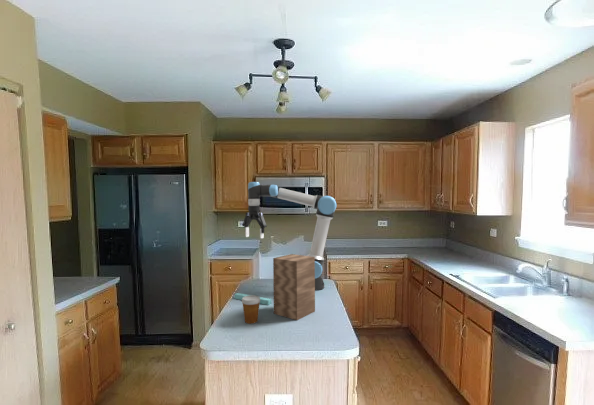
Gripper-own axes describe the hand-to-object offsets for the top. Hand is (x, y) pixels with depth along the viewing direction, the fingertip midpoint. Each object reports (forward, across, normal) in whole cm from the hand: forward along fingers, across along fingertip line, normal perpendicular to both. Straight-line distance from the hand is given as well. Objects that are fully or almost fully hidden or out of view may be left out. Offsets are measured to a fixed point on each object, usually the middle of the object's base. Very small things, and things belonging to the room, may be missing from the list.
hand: (254, 237), depth 213 cm
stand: (+37, +44, -14) cm, 59 cm away
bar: (+37, +11, -13) cm, 41 cm away
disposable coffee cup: (+37, +35, -37) cm, 63 cm away
